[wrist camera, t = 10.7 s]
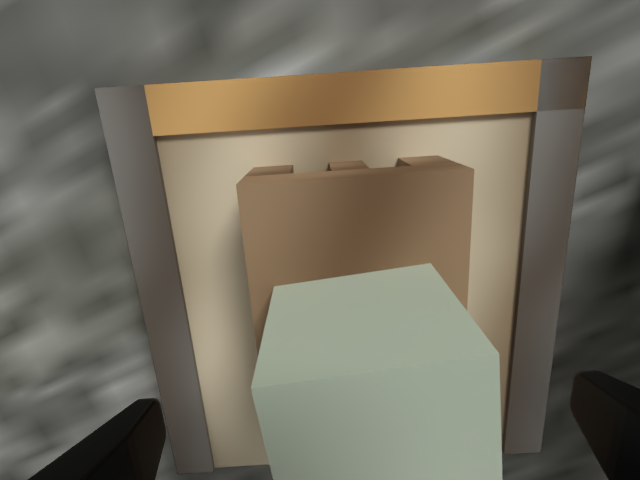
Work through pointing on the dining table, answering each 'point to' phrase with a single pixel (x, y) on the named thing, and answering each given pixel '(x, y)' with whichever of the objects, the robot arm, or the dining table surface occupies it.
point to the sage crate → (377, 381)
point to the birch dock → (314, 156)
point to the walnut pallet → (354, 224)
